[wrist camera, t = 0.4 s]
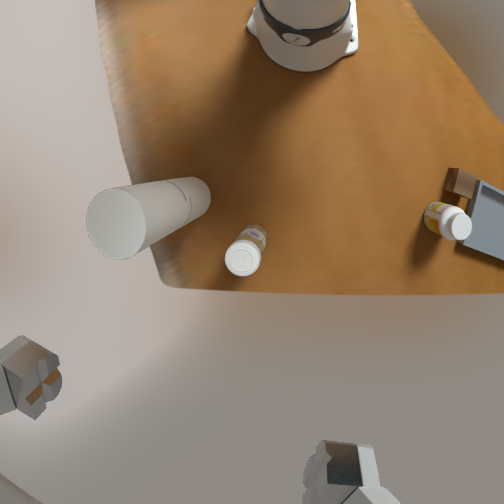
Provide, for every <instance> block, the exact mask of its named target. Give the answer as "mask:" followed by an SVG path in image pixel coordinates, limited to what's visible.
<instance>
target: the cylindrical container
mask: <svg viewBox="0 0 504 504" xmlns="http://www.w3.org/2000/svg"><path fill="white" fill-rule="evenodd" d="M210 202H211V194H210V190H209V188H208V186H207V185H206V184H205V183H204V182H203V181H202V180H201V179H199V178H196V177H184V178H176V179H169V180H162V181H155V182H148V183H142V184H135V185H129V186H123V187H117V188H112V189H108V190H104V191H103V192H100V193H99V194H98V195H97V196H95V197H94V199H93V200H92V202H91V203H90V205H89V208H88V211H87V216H86V225H87V232H88V235H89V238H90V240H91V242H92V244H93V245H94V247H95V248H96V249H97V250H98V251H99V252H100V253H102V255H104V256H106V257H108V258H110V259H113V260H124V259H128V258H130V257H132V256H134V255H135V254H137V253H138V252H140V251H142V250H143V249H145V248H146V247H148V246H150V245H152V244H153V243H155V242H157V241H159V240H160V239H162V238H164V237H165V236H167V235H169V234H170V233H172V232H174V231H176V230H177V229H179V228H181V227H182V226H184V225H186V224H188V223H189V222H191V221H193V220H195V219H196V218H198V217H200V216H201V215H203V214H204V213H205V212H206V211H207V209H208V208H209V206H210Z"/></svg>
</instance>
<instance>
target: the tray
mask: <svg viewBox="0 0 504 504" xmlns="http://www.w3.org/2000/svg"><path fill="white" fill-rule="evenodd" d="M466 215H467V216H469V218H470V219H471V222H472V230H471V233H470V235H469V236H468V237H467V238H466V239H464V240H457V242H459V243H461V244H462V245H465V246H467V247H470V248H473V249H476V250H478V251H481V252H484V253H486V254H489V255H491V256H494V257H497V258H499V259H502V260H504V192H503V191H501V190H500V189H498V188H496V187H494V186H492V185H490V184H488V183H486V182H484V181H482V180H476V182H475V187H474V191H473V195H472V199H469V202H468V206H467V210H466Z"/></svg>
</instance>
